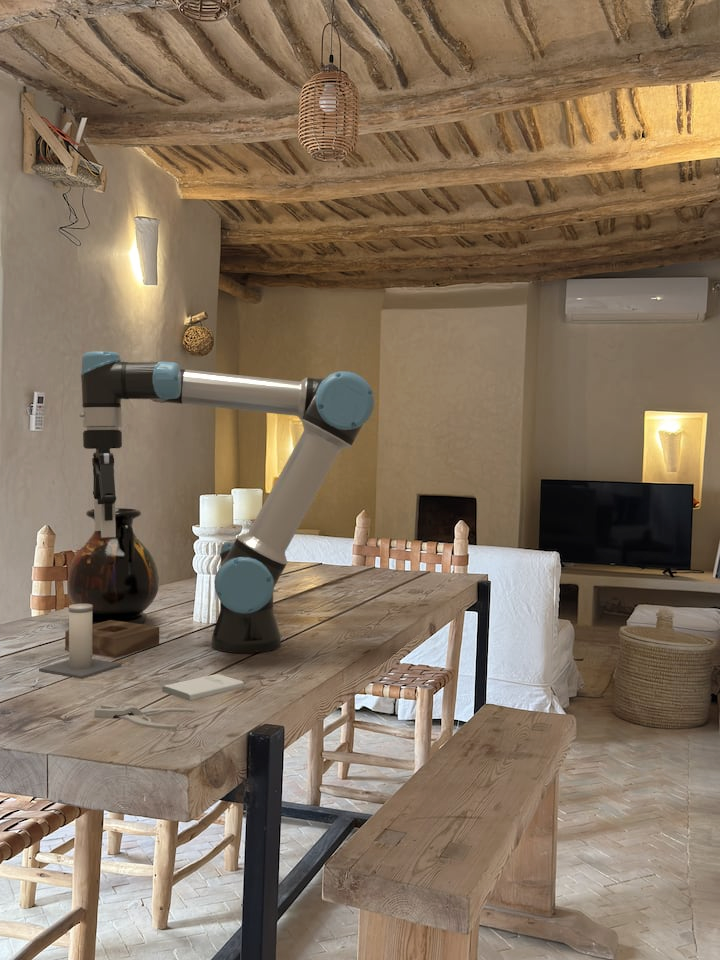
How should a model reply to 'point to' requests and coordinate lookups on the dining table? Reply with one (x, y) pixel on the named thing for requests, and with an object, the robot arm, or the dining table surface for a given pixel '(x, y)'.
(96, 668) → the mat
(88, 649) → the plug
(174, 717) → the dining table surface
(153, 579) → the amphora vase
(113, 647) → the socket block
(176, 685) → the external hard drive
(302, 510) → the robot arm
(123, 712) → the pliers
